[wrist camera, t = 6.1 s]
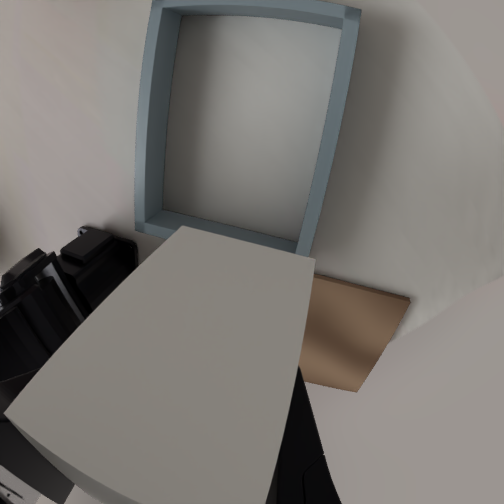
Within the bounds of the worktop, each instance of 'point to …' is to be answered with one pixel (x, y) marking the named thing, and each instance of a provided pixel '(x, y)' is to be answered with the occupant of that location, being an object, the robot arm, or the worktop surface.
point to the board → (346, 331)
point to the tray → (158, 96)
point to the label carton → (177, 377)
